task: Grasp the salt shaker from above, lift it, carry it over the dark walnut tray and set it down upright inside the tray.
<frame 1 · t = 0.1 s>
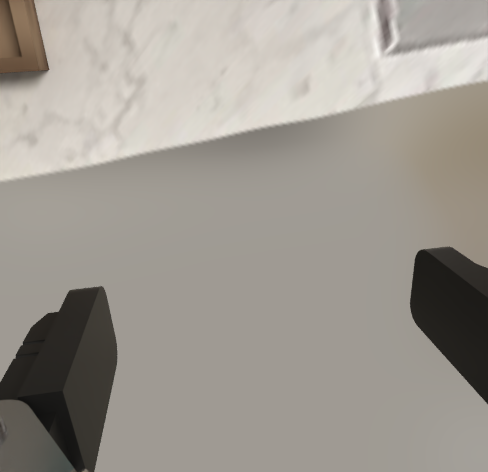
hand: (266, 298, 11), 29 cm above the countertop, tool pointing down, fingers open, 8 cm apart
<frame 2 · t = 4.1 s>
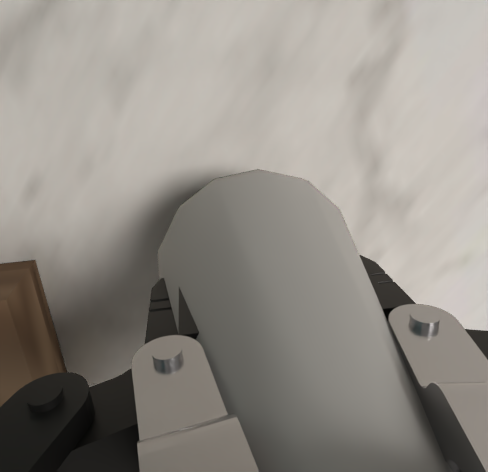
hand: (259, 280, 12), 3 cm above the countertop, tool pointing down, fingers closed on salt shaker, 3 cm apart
salt shaker: (244, 234, 15), on the countertop, touching gripper
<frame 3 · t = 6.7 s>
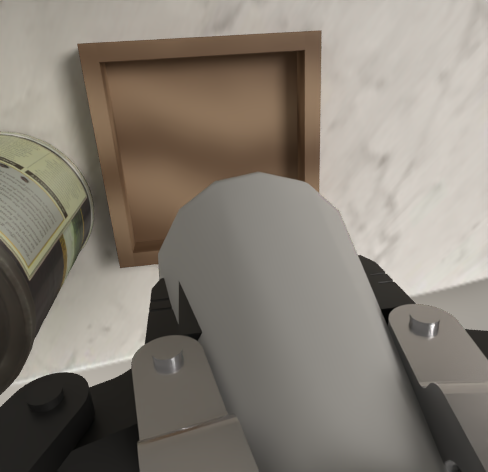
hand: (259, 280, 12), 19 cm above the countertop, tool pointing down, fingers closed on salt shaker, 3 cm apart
salt shaker: (245, 236, 15), point 16 cm above the countertop, touching gripper
walnut tray: (210, 150, 29), on the countertop
coffee can: (18, 205, 29), on the countertop
when the fingers open (6 cm above the countertop, at t = 9.8 s): salt shaker drops 2 cm, resting on walnut tray.
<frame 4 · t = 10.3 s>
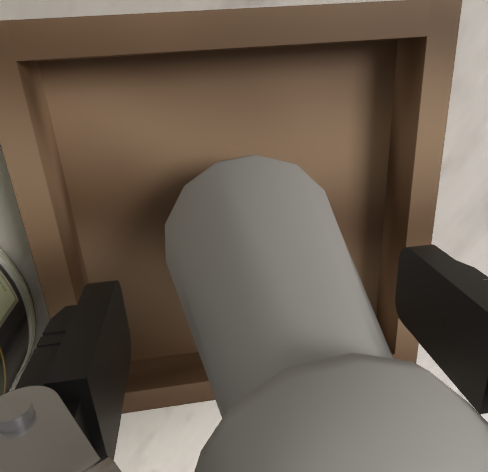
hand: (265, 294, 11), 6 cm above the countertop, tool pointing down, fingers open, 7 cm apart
salt shaker: (241, 215, 16), resting on walnut tray
walnut tray: (235, 213, 17), on the countertop
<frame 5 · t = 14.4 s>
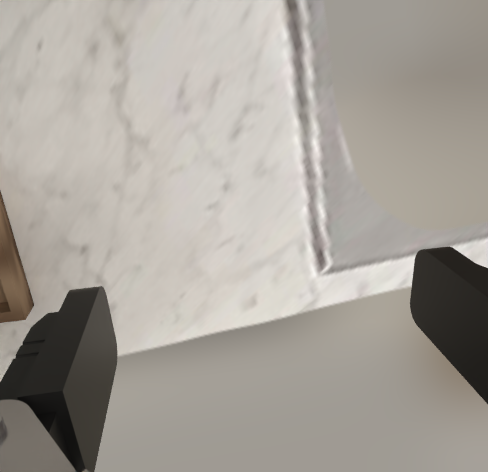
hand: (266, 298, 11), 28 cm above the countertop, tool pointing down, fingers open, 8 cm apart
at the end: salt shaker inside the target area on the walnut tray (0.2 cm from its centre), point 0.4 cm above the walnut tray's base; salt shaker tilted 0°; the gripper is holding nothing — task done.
